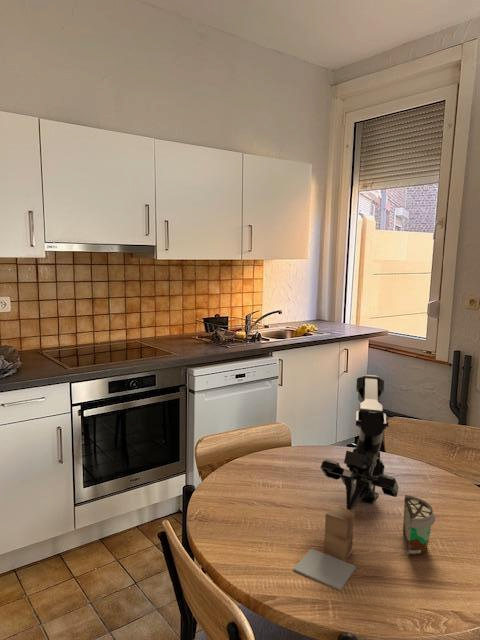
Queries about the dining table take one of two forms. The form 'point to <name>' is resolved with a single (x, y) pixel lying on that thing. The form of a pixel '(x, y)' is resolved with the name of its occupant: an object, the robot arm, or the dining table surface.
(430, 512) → the food container
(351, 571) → the mat
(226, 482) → the dining table surface
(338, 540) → the walnut block
